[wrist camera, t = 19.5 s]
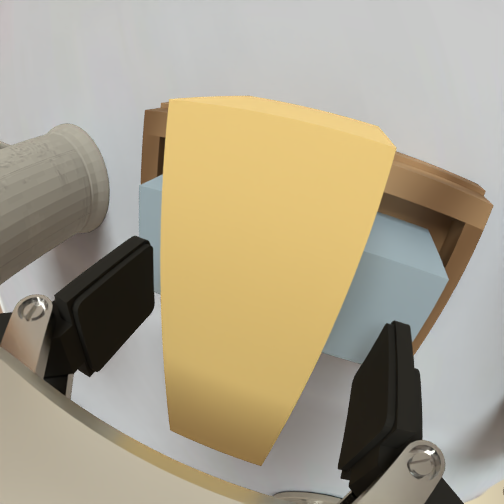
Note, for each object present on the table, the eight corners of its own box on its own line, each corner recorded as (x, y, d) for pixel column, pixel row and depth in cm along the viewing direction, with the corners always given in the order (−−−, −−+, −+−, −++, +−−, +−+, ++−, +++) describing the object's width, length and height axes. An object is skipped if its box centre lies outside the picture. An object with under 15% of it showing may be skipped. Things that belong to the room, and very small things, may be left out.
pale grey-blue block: (428, 229, 13) (448, 279, 9) (390, 310, 16) (391, 372, 12) (192, 160, 15) (139, 185, 12) (185, 245, 18) (140, 286, 14)
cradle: (477, 184, 12) (497, 200, 10) (402, 339, 18) (404, 370, 15) (173, 101, 15) (143, 105, 13) (163, 261, 21) (140, 281, 19)
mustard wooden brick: (378, 126, 8) (396, 148, 4) (288, 387, 14) (261, 466, 10) (249, 96, 9) (169, 99, 5) (212, 360, 15) (170, 430, 11)
